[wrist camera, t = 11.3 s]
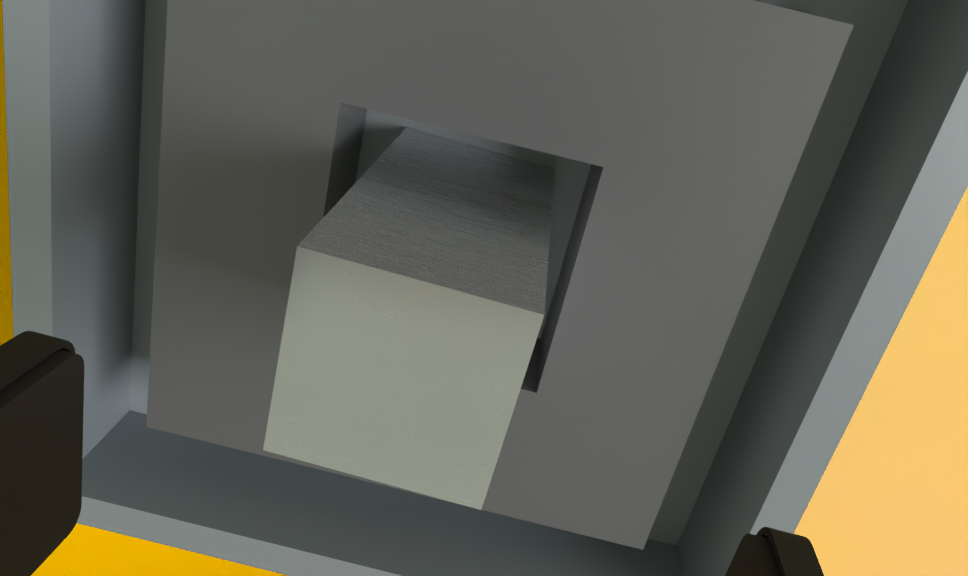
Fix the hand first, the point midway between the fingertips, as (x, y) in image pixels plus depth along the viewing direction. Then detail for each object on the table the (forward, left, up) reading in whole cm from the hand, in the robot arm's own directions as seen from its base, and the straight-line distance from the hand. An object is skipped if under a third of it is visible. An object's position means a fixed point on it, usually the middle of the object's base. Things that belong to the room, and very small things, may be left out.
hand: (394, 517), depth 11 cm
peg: (+1, 0, -12) cm, 12 cm away
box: (+1, 0, -13) cm, 13 cm away
